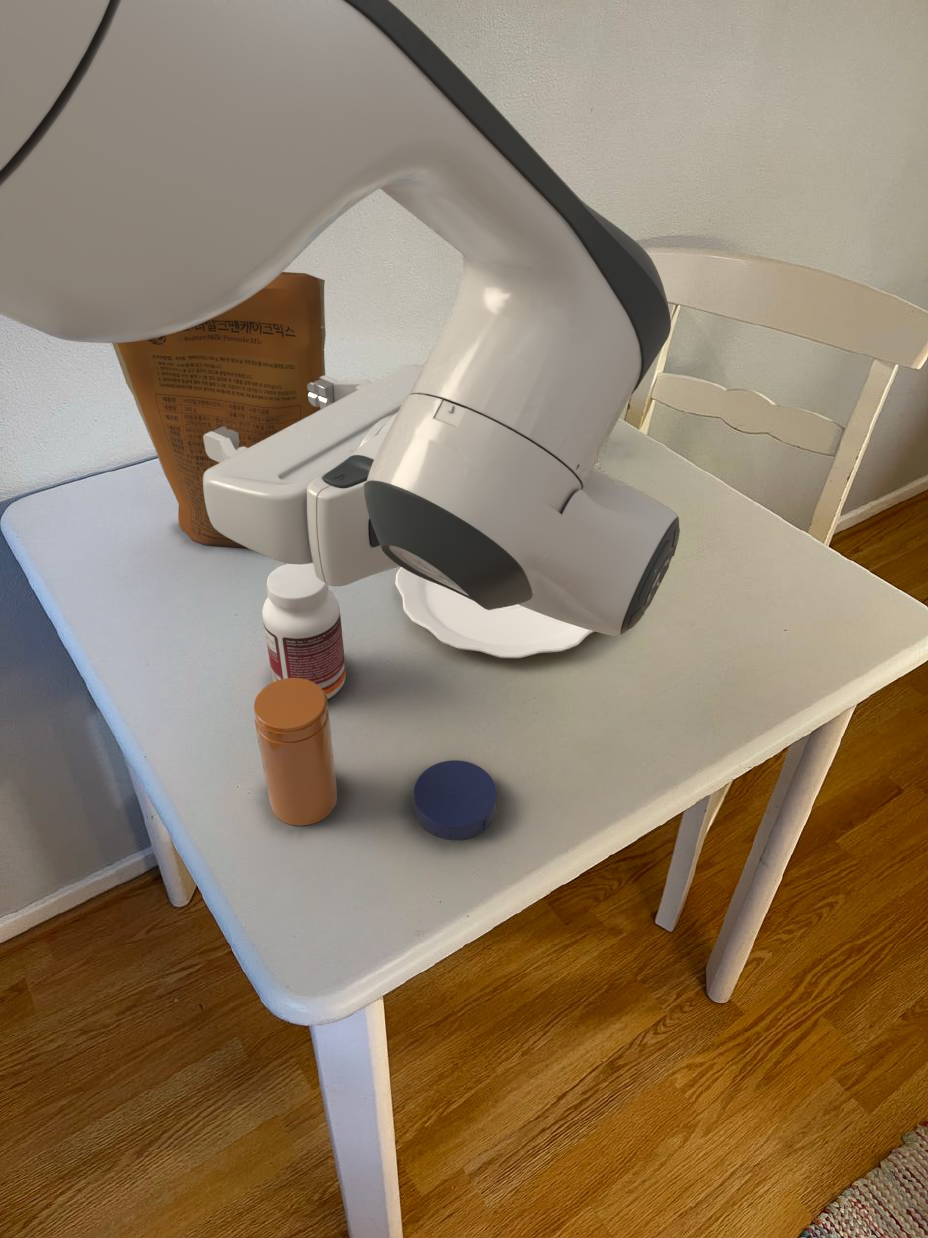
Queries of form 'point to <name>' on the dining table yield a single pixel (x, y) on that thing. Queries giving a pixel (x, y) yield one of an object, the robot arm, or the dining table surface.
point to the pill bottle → (303, 628)
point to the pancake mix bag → (227, 384)
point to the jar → (296, 750)
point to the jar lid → (455, 799)
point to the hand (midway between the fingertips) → (266, 413)
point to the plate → (483, 622)
